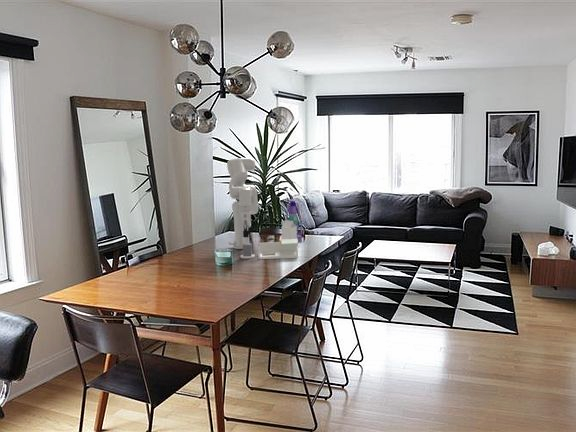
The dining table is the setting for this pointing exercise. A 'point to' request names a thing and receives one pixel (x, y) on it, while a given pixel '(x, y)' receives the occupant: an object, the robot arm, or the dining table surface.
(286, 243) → the cover
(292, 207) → the lantern
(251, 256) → the white flat disc
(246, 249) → the block
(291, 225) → the milk carton
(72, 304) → the dining table surface
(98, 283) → the dining table surface
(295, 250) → the frame with rectangular opening
